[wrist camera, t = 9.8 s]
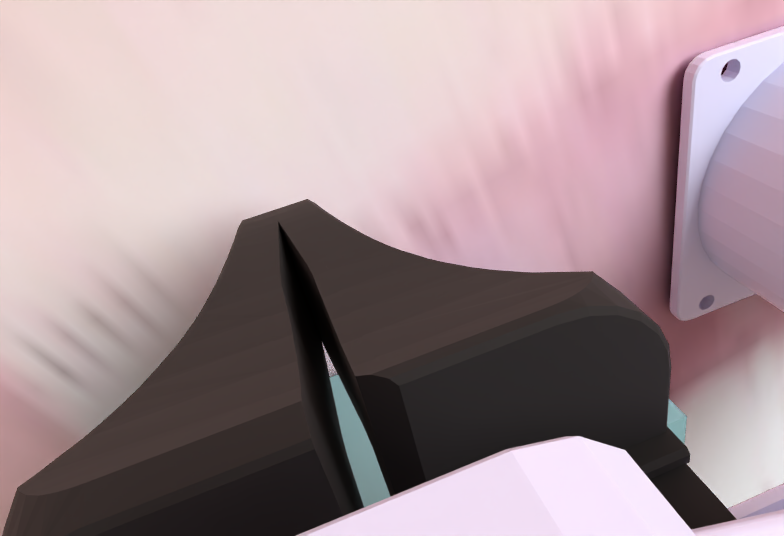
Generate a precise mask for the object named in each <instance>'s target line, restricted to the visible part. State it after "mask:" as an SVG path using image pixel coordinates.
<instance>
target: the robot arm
mask: <svg viewBox="0 0 784 536" xmlns="http://www.w3.org/2000/svg"><path fill="white" fill-rule="evenodd" d="M727 62H728V65H727V68H726V70H725V72H724V73H723V74H722V75H721V72H722V69H723V67H724V66H725V64H726V63H727ZM754 294H757V295H759V296H760V297H762V298H763V299H765V300H766V301H768V302H769V303H771V304H772V305H774V306H775V307H776V308H778V309H779V310H781V311H782V312H784V26H782V27H779V28H776V29H772V30H769V31H766V32H763V33H760V34H757V35H754V36H751V37H748V38H745V39H742V40H739V41H736V42H733V43H730V44H727V45H724V46H721V47H718V48H715V49H712V50H709V51H706V52H703V53H701V54H699V55H698V56H696V57H695V58H694V59H693V60H692V61H691V62H690V63H689V65H688V67H687V69H686V71H685V75H684V79H683V95H682V112H681V128H680V145H679V161H678V178H677V194H676V211H675V227H674V244H673V260H672V277H671V293H670V312H671V313H672V314H673V315H674V316H675V317H677V318H678V319H679V320H681V321H687V320H691V319H694V318H696V317H699V316H702V315H704V314H707V313H709V312H712V311H714V310H717V309H719V308H722V307H724V306H727V305H729V304H732V303H734V302H737V301H739V300H742V299H744V298H747V297H749V296H752V295H754ZM322 342H323V345H324V347H325V349H326V351H327V353H328V355H329V357H330V359H331V361H332V363H333V365H334V367H335V369H336V371H337V373H338V375H339V377H340V379H341V381H342V384H343V386H344V388H345V390H346V392H347V394H348V396H349V398H350V400H351V402H352V404H353V406H354V408H355V410H356V412H357V414H358V416H359V418H360V420H361V422H362V424H363V426H364V429H365V431H366V433H367V436H368V438H369V440H370V443H371V445H372V447H373V450H374V453H375V456H376V458H377V461H378V464H379V467H380V469H381V472H382V475H383V477H384V480H385V483H386V486H387V488H388V491H389V494H390V497H389V498H386V499H384V500H381V501H379V502H376V503H374V504H372V505H369V506H367V507H364V505H363V502H362V499H361V496H360V493H359V490H358V487H357V484H356V481H355V478H354V475H353V472H352V468H351V465H350V462H349V459H348V456H347V452H346V449H345V445H344V441H343V437H342V433H341V428H340V424H339V419H338V414H337V410H336V405H335V400H334V396H333V391H332V386H331V382H330V377H329V372H328V368H327V363H326V359H325V354H324V350H323V345H322ZM670 375H671V360H670V350H669V344H668V342H667V340H666V338H665V336H664V334H663V332H662V331H661V329H660V327H659V326H658V325H657V324H656V323H655V322H654V321H653V320H652V319H650V318H649V317H648V316H647V315H646V314H645V313H644V312H642V311H641V310H640V309H639V308H638V307H637V306H636V305H635V304H634V303H633V302H631V301H630V300H629V299H628V298H627V297H626V296H624V295H623V294H622V293H621V292H620V291H618V290H617V289H616V288H614V287H613V286H612V285H610V284H609V283H607V282H606V281H605V280H603V279H602V278H601V277H599V276H598V275H596V274H595V273H594V272H540V273H530V272H513V271H499V270H488V269H480V268H472V267H466V266H461V265H455V264H450V263H445V262H440V261H436V260H432V259H427V258H424V257H421V256H417V255H414V254H411V253H408V252H404V251H401V250H398V249H396V248H393V247H390V246H388V245H385V244H383V243H381V242H379V241H376V240H374V239H372V238H370V237H368V236H366V235H364V234H362V233H361V232H359V231H357V230H355V229H353V228H352V227H350V226H348V225H346V224H345V223H343V222H341V221H340V220H338V219H337V218H335V217H334V216H332V215H331V214H329V213H328V212H326V211H325V210H323V209H322V208H321V207H319V206H318V205H317V204H315V203H314V202H312V201H310V200H308V199H306V200H303V201H300V202H297V203H294V204H291V205H288V206H285V207H282V208H279V209H276V210H273V211H270V212H267V213H264V214H261V215H258V216H255V217H252V218H249V219H246V220H243V221H242V222H241V224H240V226H239V228H238V230H237V233H236V236H235V239H234V242H233V245H232V247H231V250H230V253H229V255H228V258H227V260H226V262H225V265H224V267H223V269H222V271H221V274H220V276H219V278H218V280H217V282H216V285H215V287H214V288H213V290H212V292H211V294H210V296H209V298H208V299H207V301H206V303H205V305H204V307H203V309H202V310H201V312H200V314H199V315H198V317H197V318H196V320H195V321H194V323H193V324H192V326H191V327H190V328H189V330H188V331H187V332H186V334H185V335H184V337H183V338H182V339H181V341H180V342H179V343H178V345H177V346H176V347H175V348H174V350H173V351H172V352H171V353H170V354H169V355H168V356H167V358H166V359H165V360H164V361H163V362H162V363H161V364H160V365H159V366H158V368H157V369H156V370H155V371H154V372H153V373H152V374H151V375H150V377H149V378H148V379H147V380H146V381H145V382H144V383H143V384H142V385H141V386H140V387H139V388H138V389H137V390H136V391H135V392H134V393H133V394H132V395H131V396H130V397H129V398H128V399H127V400H126V401H125V402H124V403H123V404H122V405H121V406H120V407H119V408H118V409H116V410H115V411H114V412H113V413H112V414H111V415H110V416H109V417H107V418H106V419H105V420H104V421H103V422H102V423H101V424H100V425H98V426H97V427H96V428H95V429H94V430H93V431H91V432H90V433H89V434H88V435H87V436H85V437H84V438H83V439H82V440H80V441H79V442H78V443H77V444H75V445H74V446H73V447H71V448H70V449H69V450H67V451H66V452H65V453H63V454H62V455H61V456H60V457H58V458H57V459H56V460H54V461H53V462H52V463H50V464H49V465H48V466H46V467H45V468H44V469H42V470H41V471H40V472H39V473H37V474H36V475H35V476H33V477H32V478H31V479H29V480H28V481H26V482H25V483H23V484H22V485H21V486H19V487H18V488H17V491H16V494H15V497H14V500H13V503H12V506H11V509H10V512H9V515H8V518H7V521H6V524H5V527H4V531H3V535H2V536H784V483H783V484H781V485H779V486H777V487H775V488H772V489H770V490H768V491H766V492H764V493H761V494H759V495H757V496H755V497H752V498H750V499H748V500H746V501H744V502H741V503H739V504H737V505H735V506H732V507H730V508H728V509H727V508H726V507H725V506H724V505H723V504H722V502H721V501H720V500H719V499H718V498H717V497H716V496H715V495H714V494H713V493H712V492H711V490H710V489H709V488H708V487H707V486H706V485H705V484H704V483H703V482H702V481H701V480H700V478H699V477H698V476H697V475H696V474H695V473H694V472H693V471H692V470H691V469H690V467H689V466H688V465H687V464H686V463H689V462H690V453H689V451H688V449H687V447H686V446H685V445H684V443H683V442H682V441H681V440H680V439H679V438H678V437H677V436H676V435H675V434H674V433H673V432H672V431H671V430H670V429H669V428H668V427H667V419H668V404H669V390H670Z"/></svg>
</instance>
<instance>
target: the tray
mask: <svg viewBox="0 0 784 536" xmlns="http://www.w3.org/2000/svg"><path fill="white" fill-rule="evenodd" d="M330 382H331V386H332V391H333V396H334V400H335V405H336V410H337V414H338V419H339V424H340V428H341V433H342V437H343V441H344V445H345V449H346V452H347V456H348V459H349V462H350V465H351V468H352V472H353V475H354V478H355V481H356V484H357V487H358V490H359V493H360V496H361V499H362V502H363V505H364V507H367V506H369V505H372V504H374V503H376V502H379V501H381V500H384V499H386V498H389V497H390V494H389V491H388V488H387V486H386V483H385V480H384V477H383V475H382V472H381V469H380V467H379V464H378V461H377V458H376V456H375V453H374V450H373V447H372V445H371V443H370V440H369V438H368V436H367V433H366V431H365V429H364V426H363V424H362V422H361V420H360V418H359V416H358V414H357V412H356V410H355V408H354V406H353V404H352V402H351V400H350V398H349V396H348V394H347V392H346V390H345V388H344V386H343V384H342V381H341V379H340V377H339V375H335V376H333V377H330ZM686 421H687V416H686V415H685V414H684V413H683V412H682V411H681V410H680V409H679V408H678V407H677V406H676V405H675V404H674V403H673V402H672V401H671V400H670V399H669V404H668V419H667V427H668V428H669V429H670V430H671V431H672V432H673V433H674V434H675V435H676V436H677V437H678V438H679V439H680V440H681V441H682V442H683V443H684V442H685V431H686Z"/></svg>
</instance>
